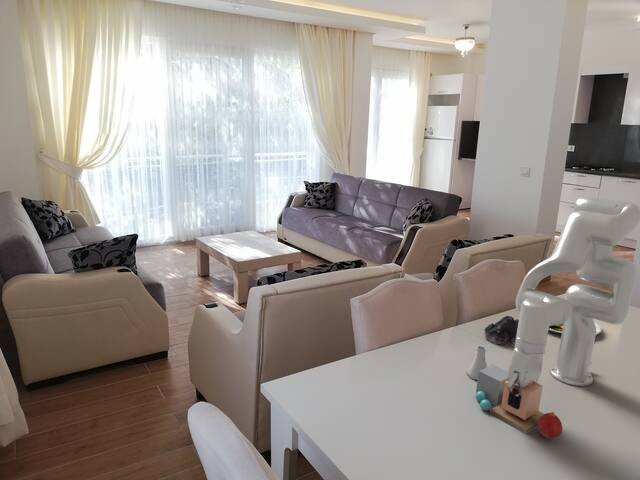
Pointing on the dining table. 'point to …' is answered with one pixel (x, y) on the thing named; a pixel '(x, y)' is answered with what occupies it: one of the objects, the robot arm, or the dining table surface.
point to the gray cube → (492, 383)
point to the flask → (477, 363)
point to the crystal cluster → (503, 331)
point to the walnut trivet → (517, 419)
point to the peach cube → (524, 400)
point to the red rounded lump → (550, 425)
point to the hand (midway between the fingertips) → (520, 401)
